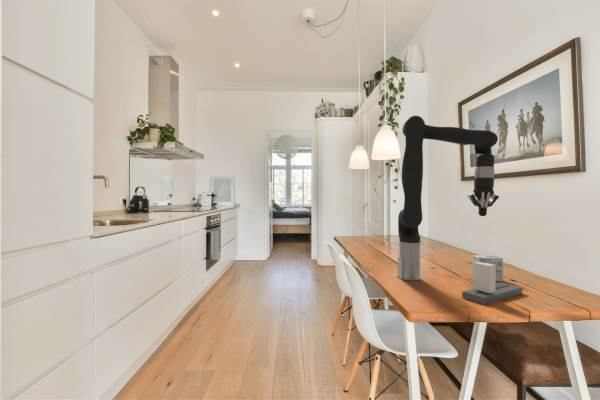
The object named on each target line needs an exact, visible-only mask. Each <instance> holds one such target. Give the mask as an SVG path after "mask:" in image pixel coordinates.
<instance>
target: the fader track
mask: <svg viewBox="0 0 600 400" xmlns="http://www.w3.org/2000/svg"><path fill="white" fill-rule="evenodd" d="M461 293H462V295H461V297H462V299H465V300H469V301H471V302H475V303H478V304H481V305H487V304H490V303H494V302H498V301H502V300H505V299H509V298H511V297H515V296H519V295H522V294H523V287H522V286H518V285H515V284H514V285H513V284H510V283H505V282H503V281H499V282H496V288H495V292H492V293H486V292H483V291H479V290H476V289H473V288H471V289H466V290H463V291H462V292H461Z"/></svg>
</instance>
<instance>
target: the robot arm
mask: <svg viewBox="0 0 600 400" xmlns="http://www.w3.org/2000/svg"><path fill="white" fill-rule="evenodd" d="M402 134H403V135H404V136H405V149H404V153H403V158H402V165H401V184H402V190H403V194H404V202H403V208H402V209H401V210H400V211H399V214H398V216H397V217H398V220H397V221H398V222H397V225H398V226H397V227H398V228H397V230H398V237H399V245H398V246H399V251H398V252H399V253H398V255H399V256H398V257H397V277H398V278H400V280H404V281H405V280H406V281H413V282H414V281H419V280H421V236H420V233H419V232H420V231H419V226H420V225H421V224H422V221H423V209H422V193H423V192H422V191H423V190H422V189H423V177H424V156H423V155H424V154H423V152H424V150H423V146H424V145H423V143H424V140H433V141H434V140H435V141H440V142H447V143H451V144H457V145H463V146H469V145H473V146H474V152H475V167H474V168H475V169H474V176H473V177H474V179H473V187H474V188H473V191H472V193H470V194H467V197H468V199H469V200H470V201H471V203H472V204H473V206H475V207H477V208H478V215H479V216H480V217H485V216H486V215H488V214H487V213H488V208H489V207H492V206H493V205H494V203H496V201H498V199H499V198H500V196H499V195H496V194H495V191H494V185H495V155H494V154H492V147H494V146H495V145H497V143H498V140H499V138H498V135H497V134H496V133H495V132H493V131H489V130H483V129H482V130H480V129H468V128H462V127H457V126H434V125H428V124H426V123H425V120H424V119H423V118H422V117H421V116H419V115H412V116H410V117H408V119H406V120H405V122H404V124H403V126H402Z"/></svg>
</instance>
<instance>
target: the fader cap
mask: <svg viewBox="0 0 600 400" xmlns="http://www.w3.org/2000/svg"><path fill="white" fill-rule="evenodd" d="M472 278H473V279H472V289H476V290H479V291H483V292H486V293H492V292H495V288H496V283H497V281H496V265H494V264H488V263H483V262H475V263H473V262H472Z"/></svg>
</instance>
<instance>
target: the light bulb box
mask: <svg viewBox="0 0 600 400" xmlns="http://www.w3.org/2000/svg"><path fill="white" fill-rule="evenodd" d="M475 262H483V263H488V264H494V265H496V282H503V280H504V277H503V276H504V275H503V274H504V258H503V257H500V256H497V255H481V254H480V255H474V254H473V255H472V264H473V263H475Z"/></svg>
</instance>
